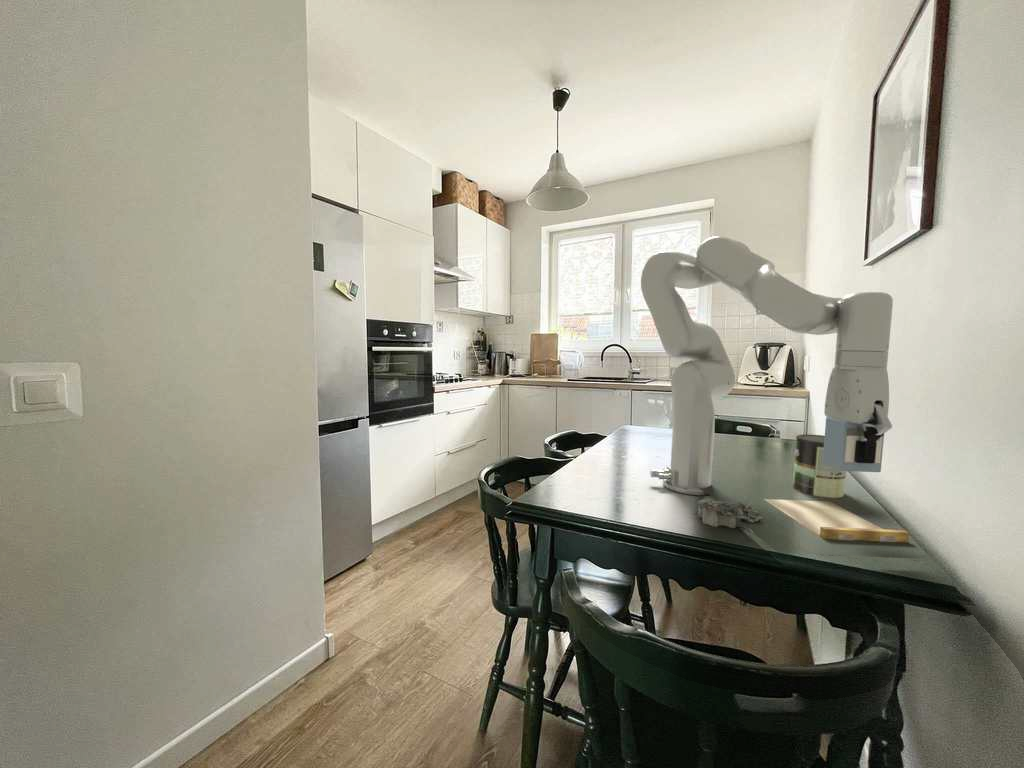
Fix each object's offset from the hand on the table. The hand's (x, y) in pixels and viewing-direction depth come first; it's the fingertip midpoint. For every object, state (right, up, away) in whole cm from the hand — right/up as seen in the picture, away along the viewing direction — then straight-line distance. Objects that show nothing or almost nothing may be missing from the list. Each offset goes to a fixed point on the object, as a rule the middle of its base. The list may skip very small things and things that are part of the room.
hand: (852, 457), depth 81 cm
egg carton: (-20, -14, +6) cm, 26 cm away
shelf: (-1, -14, +5) cm, 15 cm away
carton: (0, -2, 0) cm, 2 cm away
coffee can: (+10, -13, +23) cm, 28 cm away
